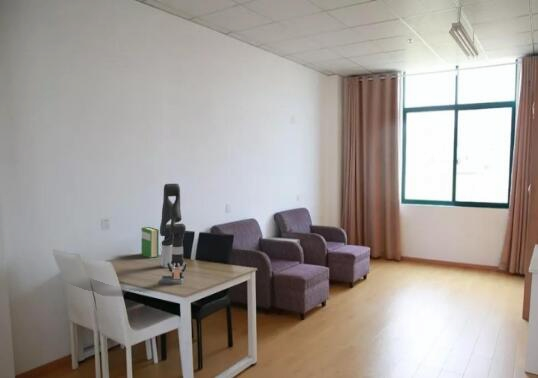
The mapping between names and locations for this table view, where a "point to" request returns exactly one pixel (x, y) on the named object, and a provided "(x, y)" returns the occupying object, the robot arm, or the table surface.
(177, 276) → the salmon pink block
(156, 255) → the hardback book
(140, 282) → the table surface
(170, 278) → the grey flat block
